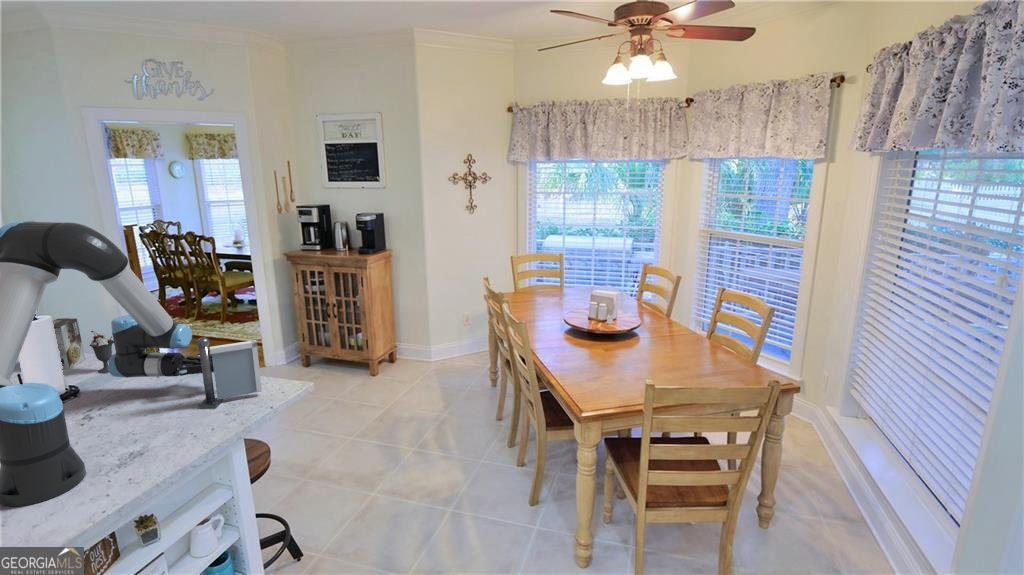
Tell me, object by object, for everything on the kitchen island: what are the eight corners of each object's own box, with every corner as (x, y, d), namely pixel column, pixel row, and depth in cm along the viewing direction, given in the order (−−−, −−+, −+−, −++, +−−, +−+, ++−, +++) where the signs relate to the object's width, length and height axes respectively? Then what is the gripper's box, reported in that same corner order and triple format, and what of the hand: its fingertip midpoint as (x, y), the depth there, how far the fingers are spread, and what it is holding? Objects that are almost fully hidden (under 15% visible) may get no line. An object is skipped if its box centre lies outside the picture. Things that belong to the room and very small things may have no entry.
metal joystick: (216, 408, 154) (207, 340, 148) (198, 408, 153) (189, 340, 148) (223, 400, 159) (215, 334, 153) (206, 401, 158) (197, 334, 153)
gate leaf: (216, 400, 155) (209, 349, 151) (216, 397, 157) (209, 346, 153) (261, 391, 162) (256, 342, 158) (261, 389, 163) (255, 340, 159)
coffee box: (66, 360, 186) (57, 318, 182) (86, 359, 187) (77, 317, 183) (48, 370, 177) (39, 326, 173) (69, 369, 178) (60, 325, 174)
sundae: (89, 372, 176) (81, 331, 172) (109, 365, 182) (102, 325, 178) (103, 375, 174) (95, 333, 170) (123, 368, 180) (116, 327, 177)
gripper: (178, 367, 169) (253, 366, 171) (155, 384, 156) (236, 383, 159) (175, 346, 167) (250, 345, 169) (151, 361, 155) (233, 360, 157)
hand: (243, 363), depth 164 cm, fingers closed
